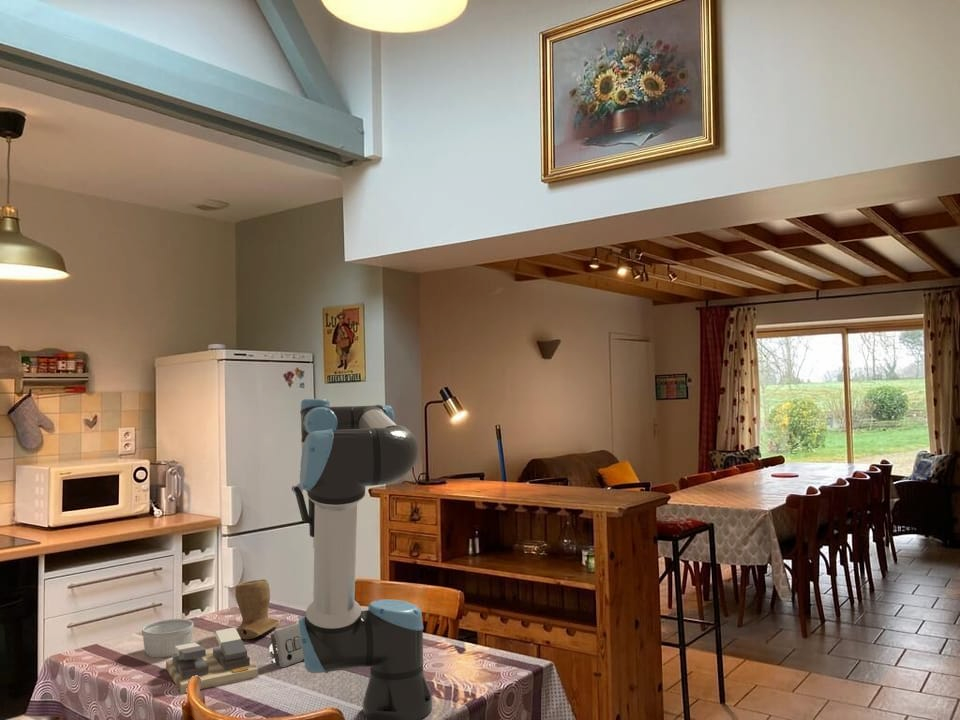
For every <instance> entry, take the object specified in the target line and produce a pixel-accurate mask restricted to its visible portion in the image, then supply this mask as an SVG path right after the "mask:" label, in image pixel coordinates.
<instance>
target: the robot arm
mask: <svg viewBox="0 0 960 720" xmlns="http://www.w3.org/2000/svg"><path fill="white" fill-rule="evenodd" d="M330 405H331V403H330V400H329V399H328V398H305V399H302V400H301V402H300V411H299V412H300V413H299V414H300V427H301V429H300V430H301V432H300V433H301V434H300V435H301V438H300V439H301V440H300V441H301V456H300V471H299V472H300V473H299V483H297V484H296V485H293V486H292V487H291V491H292V492H293V493H294V494H295V497H296V501H297V506H298V511H299V514H300V516H301V521H302V522H304V523H306V524H308V525H309V536H310V537H312V545H313V546H312V548H313V594H312V595H313V601H312V602H311V603H310V604H309V605H308V606H307V608H306V610H305V615H304V616H302V617H300V618H299V619H298V623H299V628H300V635H301V642H302V649H303V656H304V660H303V661H304V668H305V670H306V671H307V672H309V674H310V673H311V674H319V673H320V674H321V673H324V674H328V673H330V672H338V671H346V670H352V669H361V668H366V667H367V668H369V670H370V674H369V675H370V676H369V680H368V684H367V686H366V690H365V693H364V697H363V701H362V714H363V716H364V718H366V719H368V720H422V719H423V718H425V717H426V716H428V715H429V714H431V712H432V710H433V698H432V694H431V691H430V686H429V685H428V681H427V680H426V679H427V678H426V676H425V674H424V640H423V639H424V638H423V637H424V635H423V634H424V633H423V630H424V624H423V616H422V615H423V614H422V611H421V608H419V606H417V605H416V604H414V603H412V602H409V601H406V600H401V599H392V598H391V599H386V598H385V599H384V598H383V599H377V600H373V601H371V602H369V604H368V607H367V609H368V610H362V608H361V605H360V604H359V603H358V602H357V601H356V600H355V595H356V594H355V590H356V560H357V559H356V558H357V556H356V554H357V553H356V552H357V520H358V503H359V502H360V501H362V500H363V499H364V497H366V487H370V486H371V487H372V486H384V485H387V484H392V483H394V482H396V481H399V480H400V479H401V478H403V477H405V476H406V475H407V474H408V473H410V472H411V470H412V469H413V468H414V466H415V465H416V463H417V461H418V457H419V454H420V451H419V450H420V448H419V443H418V440H417V438H416V436H415V435H414V433H413V432H412V431H410V430H409V429H408V428H407V427H405V426H402V425H398V424H397V423H395V415H394V414H395V413H394V409H393V407H392V406H391V405H389V404H387V405H382V404H375V405H355V406H353V405H352V406H350V405H348V406H346V405H345V406H344V405H343V406H330ZM303 491H305V492H307V493H306V495H307V498H308V501H307V502H308V508H307V504H306V500H305V497H304V494H303Z"/></svg>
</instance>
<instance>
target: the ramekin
mask: <svg viewBox="0 0 960 720" xmlns="http://www.w3.org/2000/svg"><path fill="white" fill-rule="evenodd" d="M194 627H195V625H194V622H193V620H191V619H186V618H170V619H163V620H156V621H153V622H151V623H147V624H146V625H144V626H143V627H142V629H141V635H142V638H143V640H142V641H143V645H144V646H143V647H144V652H145V653H146V654H147V656H149V657H152V658H168V657H172V656H175V655H177V654H176V653H175V646H178V645H184V644H189V643H192V637H193V630H194Z"/></svg>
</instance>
